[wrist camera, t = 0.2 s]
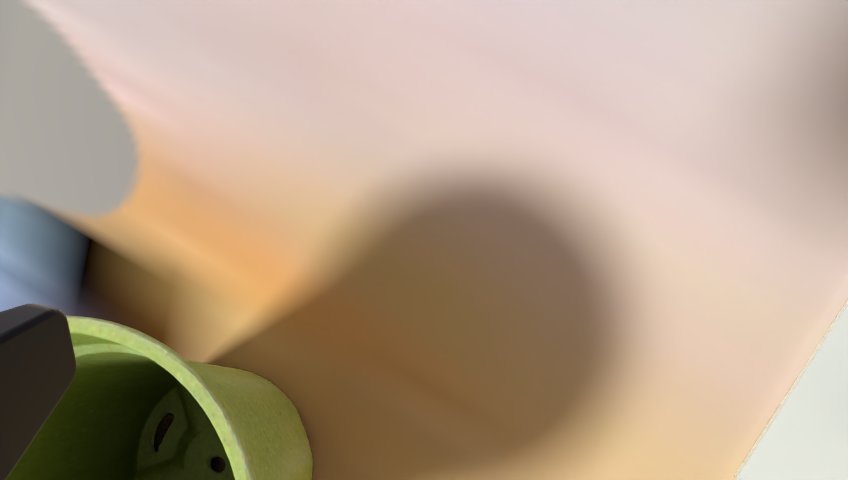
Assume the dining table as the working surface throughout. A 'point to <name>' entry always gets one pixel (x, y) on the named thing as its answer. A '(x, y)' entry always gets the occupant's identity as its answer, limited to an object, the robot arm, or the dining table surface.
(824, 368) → the tile
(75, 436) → the plant pot
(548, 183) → the dining table surface
